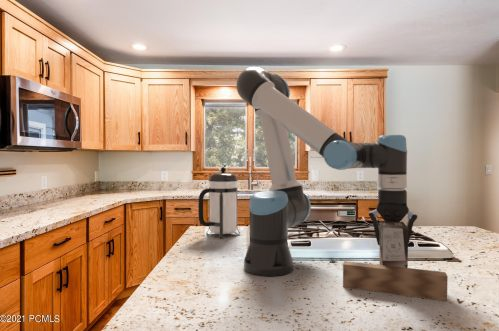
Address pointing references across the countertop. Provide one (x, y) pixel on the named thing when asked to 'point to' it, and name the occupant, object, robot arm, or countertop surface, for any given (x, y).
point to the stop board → (395, 280)
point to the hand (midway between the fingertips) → (392, 270)
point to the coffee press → (221, 204)
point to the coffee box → (393, 244)
